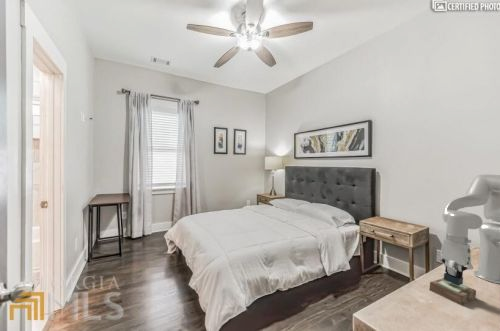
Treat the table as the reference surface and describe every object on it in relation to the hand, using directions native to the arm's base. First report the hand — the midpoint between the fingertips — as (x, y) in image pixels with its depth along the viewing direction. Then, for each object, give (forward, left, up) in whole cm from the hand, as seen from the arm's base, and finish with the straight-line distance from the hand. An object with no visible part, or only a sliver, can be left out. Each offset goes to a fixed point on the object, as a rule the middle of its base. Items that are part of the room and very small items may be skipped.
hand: (453, 276), depth 106 cm
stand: (0, 0, -9) cm, 9 cm away
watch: (0, 0, -3) cm, 3 cm away
